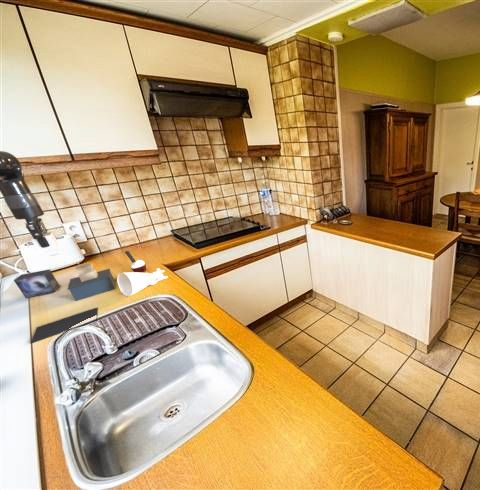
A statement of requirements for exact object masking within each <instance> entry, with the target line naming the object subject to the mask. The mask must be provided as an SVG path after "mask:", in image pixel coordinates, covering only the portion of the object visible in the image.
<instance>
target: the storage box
mask: <svg viewBox="0 0 480 490" xmlns="http://www.w3.org/2000/svg"><path fill="white" fill-rule="evenodd" d="M96 272H97V274H98V276H97V278H94V279H90V280H87V281H83V282H82V281H81V280H80V278H79V276H76V277H73V278H70V279H69V283H68V286H67V290H69V292H70V294H71V296H72V298H73V299H74V300H75V301H76V302H78V301H80V300H84V299H86V298H90V297H93V296H96V295H100V294H102V293H103V294H104V293H106V292H109V291H112V290H115V289H116V279H115V278H114V276H113V274H112V271H111V268H107V269H103V270H99V271H96Z"/></svg>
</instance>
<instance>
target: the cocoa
mask: <svg viewBox="0 0 480 490" xmlns="http://www.w3.org/2000/svg"><path fill="white" fill-rule="evenodd" d="M124 253H125V255H126V256H127V257H128V259H129V260H130V261H131V265H130V269H131V271H132V272H140V273H145V271H146V270H147V265H146V262H145V261H144V260H142V259H137V260H136V259H135V257H134V256H133V255H132V254H131V252H130V251H129V250H125V252H124Z"/></svg>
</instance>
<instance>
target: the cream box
mask: <svg viewBox="0 0 480 490" xmlns="http://www.w3.org/2000/svg"><path fill="white" fill-rule="evenodd" d="M74 271H75V273H76V274H77V277H79V278H80V280H81V281H82V282H83V281H87V280H90V279H94V278H97V276H98V274H97V272H98V271H97V269H96V268H95V266H94V264H93V262H89V263H88V262H87V263H84V264H80V265H76V266H75V268H74Z"/></svg>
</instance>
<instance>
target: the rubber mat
mask: <svg viewBox="0 0 480 490" xmlns="http://www.w3.org/2000/svg"><path fill="white" fill-rule="evenodd" d="M98 310H99V308H98V307H94V308H90V309H88V310H85V311H82V312H78V313H76V314H72V315H69V316H65V317H64V318H60V319H58V320H55V321H52V322H48V323H46V324H41V325H39V326H36V328H35V330H34V332H33V335H32V338H31V341H30V344H34V343H37V342H39V341H42V340H45V339H48V338H51V337H53V336H57V335H59V334H62V333H64V332H63V331H65V330H68V329H69V328H71V327H72V326H74V325H76V324H78V323H80V322H82V321H84V320H86V319H88V318H91V317H93V316H95V315H97V316H98ZM68 331H69V330H68ZM61 332H62V333H61ZM65 332H66V331H65Z"/></svg>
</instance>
